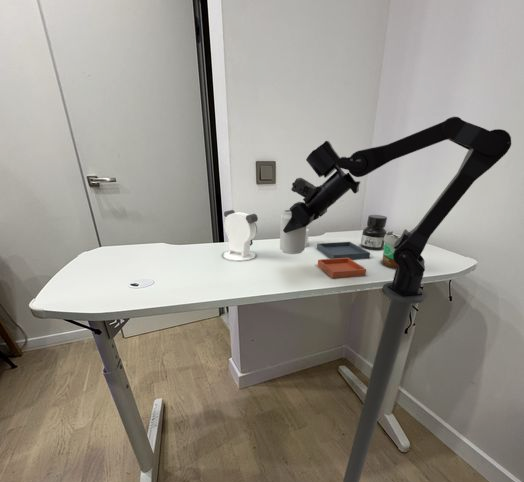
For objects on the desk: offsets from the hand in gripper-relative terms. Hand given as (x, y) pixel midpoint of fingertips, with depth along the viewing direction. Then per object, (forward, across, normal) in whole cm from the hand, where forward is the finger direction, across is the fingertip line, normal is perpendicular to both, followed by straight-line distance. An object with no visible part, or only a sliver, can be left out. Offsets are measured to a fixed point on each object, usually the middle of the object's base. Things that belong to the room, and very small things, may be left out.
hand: (288, 228), depth 86 cm
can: (+4, 0, +6) cm, 7 cm away
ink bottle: (-5, -41, +24) cm, 48 cm away
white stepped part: (+14, -29, +4) cm, 33 cm away
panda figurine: (+23, -6, -5) cm, 25 cm away
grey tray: (+1, -27, +18) cm, 32 cm away
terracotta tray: (-1, -9, +20) cm, 22 cm away
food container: (-11, -22, +30) cm, 39 cm away
